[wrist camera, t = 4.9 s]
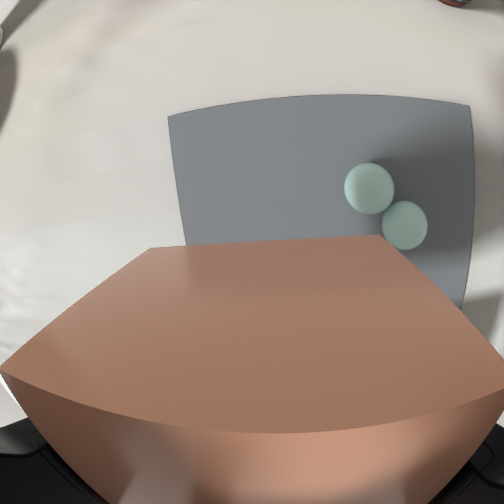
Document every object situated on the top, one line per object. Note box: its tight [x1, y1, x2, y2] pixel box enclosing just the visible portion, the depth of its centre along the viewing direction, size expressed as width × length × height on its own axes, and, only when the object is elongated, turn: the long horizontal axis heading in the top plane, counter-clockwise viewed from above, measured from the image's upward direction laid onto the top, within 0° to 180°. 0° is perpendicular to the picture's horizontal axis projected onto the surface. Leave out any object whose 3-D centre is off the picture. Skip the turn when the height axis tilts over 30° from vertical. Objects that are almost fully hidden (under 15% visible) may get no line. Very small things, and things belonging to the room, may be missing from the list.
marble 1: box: [344, 163, 394, 215], centre depth 15 cm, size 3×3×3 cm
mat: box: [168, 95, 475, 310], centre depth 19 cm, size 24×21×1 cm
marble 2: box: [382, 201, 428, 250], centre depth 15 cm, size 3×3×3 cm
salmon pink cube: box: [0, 235, 504, 504], centre depth 6 cm, size 7×7×6 cm
